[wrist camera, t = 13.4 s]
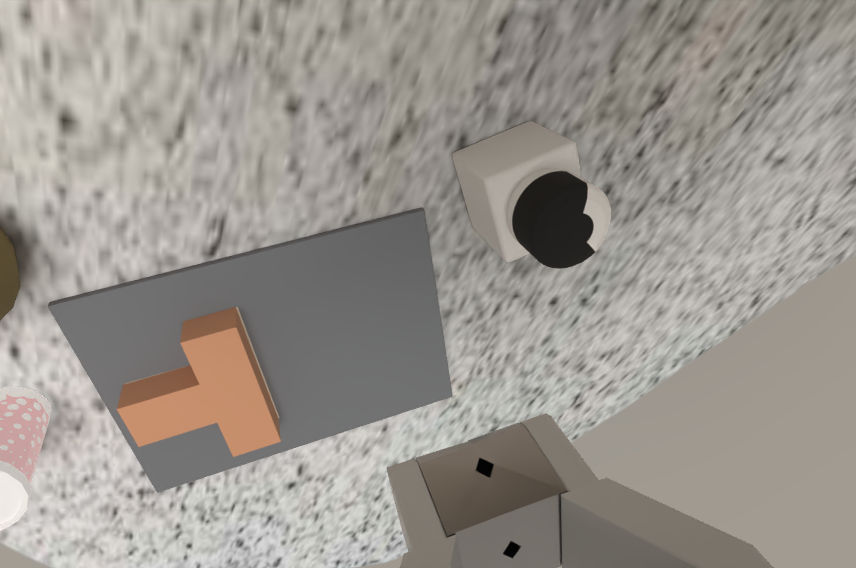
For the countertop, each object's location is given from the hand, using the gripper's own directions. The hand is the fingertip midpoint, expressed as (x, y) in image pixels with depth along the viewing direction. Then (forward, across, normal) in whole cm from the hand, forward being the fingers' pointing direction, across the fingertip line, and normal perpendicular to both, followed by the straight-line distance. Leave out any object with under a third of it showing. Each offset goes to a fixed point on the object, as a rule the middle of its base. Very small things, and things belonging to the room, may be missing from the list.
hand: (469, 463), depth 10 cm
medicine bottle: (+34, -15, +9) cm, 39 cm away
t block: (+34, +13, +20) cm, 41 cm away
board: (+34, +6, +20) cm, 40 cm away
